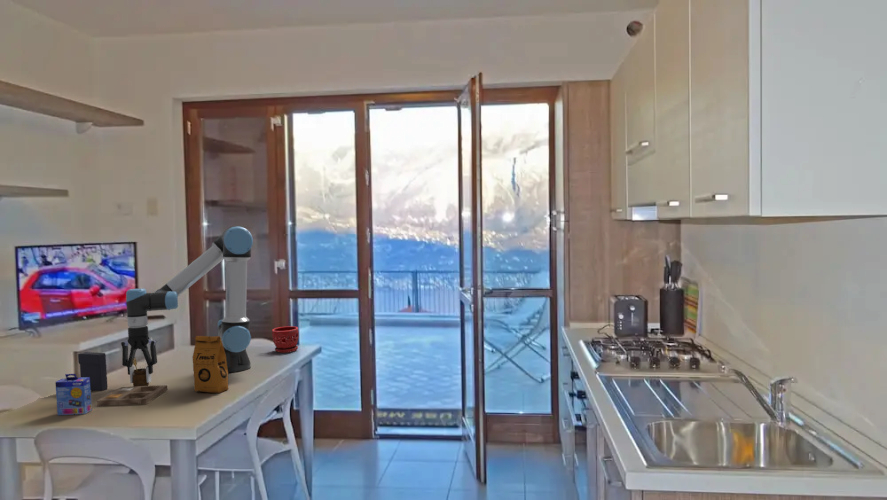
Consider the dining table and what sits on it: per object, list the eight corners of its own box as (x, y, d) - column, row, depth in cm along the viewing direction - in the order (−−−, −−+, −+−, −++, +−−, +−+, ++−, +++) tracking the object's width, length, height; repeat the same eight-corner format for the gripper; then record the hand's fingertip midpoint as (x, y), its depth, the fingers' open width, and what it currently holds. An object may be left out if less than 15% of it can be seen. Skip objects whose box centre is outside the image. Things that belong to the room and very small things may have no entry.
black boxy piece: (109, 388, 268) (107, 352, 267) (100, 391, 263) (98, 354, 263) (88, 387, 271) (86, 351, 270) (79, 390, 267) (77, 353, 266)
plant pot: (274, 349, 341) (273, 326, 340) (300, 348, 342) (299, 325, 341) (271, 354, 328) (270, 330, 327) (297, 353, 329) (296, 329, 328)
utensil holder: (141, 388, 266) (139, 359, 265) (129, 387, 268) (127, 358, 268) (152, 385, 271) (150, 356, 271) (140, 384, 274) (139, 355, 273)
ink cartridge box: (56, 416, 230) (53, 375, 230) (64, 411, 236) (61, 371, 235) (85, 414, 231) (83, 373, 231) (92, 409, 237) (90, 370, 236)
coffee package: (217, 395, 252) (215, 338, 251) (190, 393, 256) (187, 337, 255) (233, 388, 262) (230, 333, 261) (206, 387, 265) (203, 333, 264)
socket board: (167, 390, 262) (167, 384, 262) (146, 404, 242) (146, 397, 242) (122, 391, 262) (122, 386, 262) (97, 406, 242) (96, 399, 242)
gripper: (110, 328, 265) (113, 385, 266) (157, 327, 265) (160, 383, 266) (118, 325, 272) (122, 380, 273) (164, 324, 273) (167, 378, 274)
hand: (140, 381), depth 270 cm, fingers closed on utensil holder, 6 cm apart
